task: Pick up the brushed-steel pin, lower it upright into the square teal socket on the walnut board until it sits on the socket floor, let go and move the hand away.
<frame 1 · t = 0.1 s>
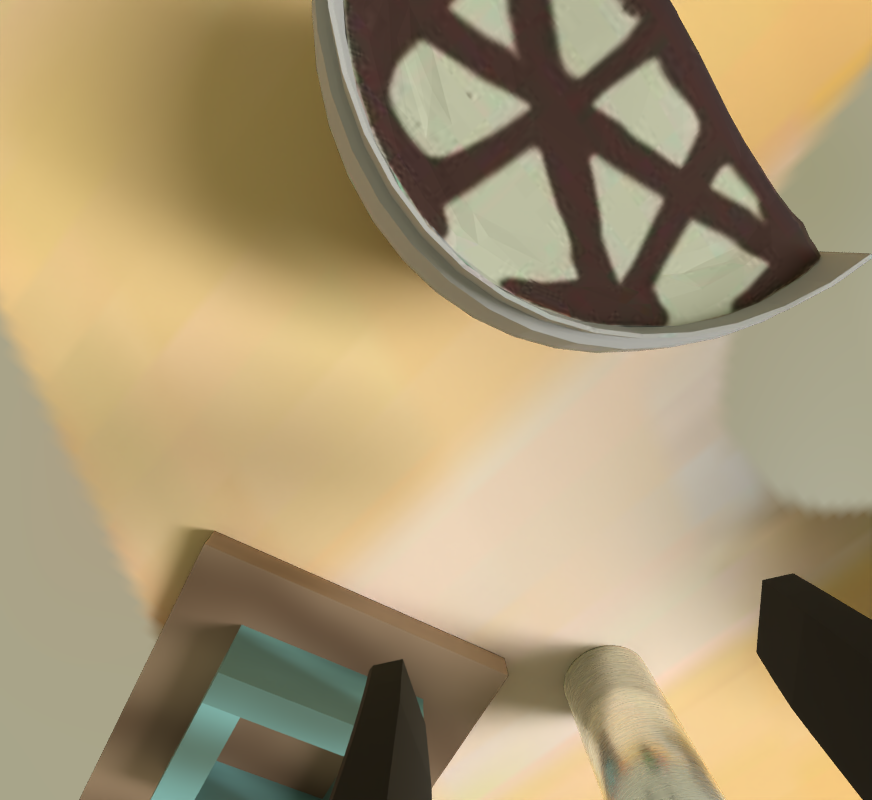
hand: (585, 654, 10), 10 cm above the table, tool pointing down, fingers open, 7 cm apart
food container: (468, 208, 18), on the table
steel pin: (605, 681, 23), on the table
socket board: (271, 761, 23), on the table
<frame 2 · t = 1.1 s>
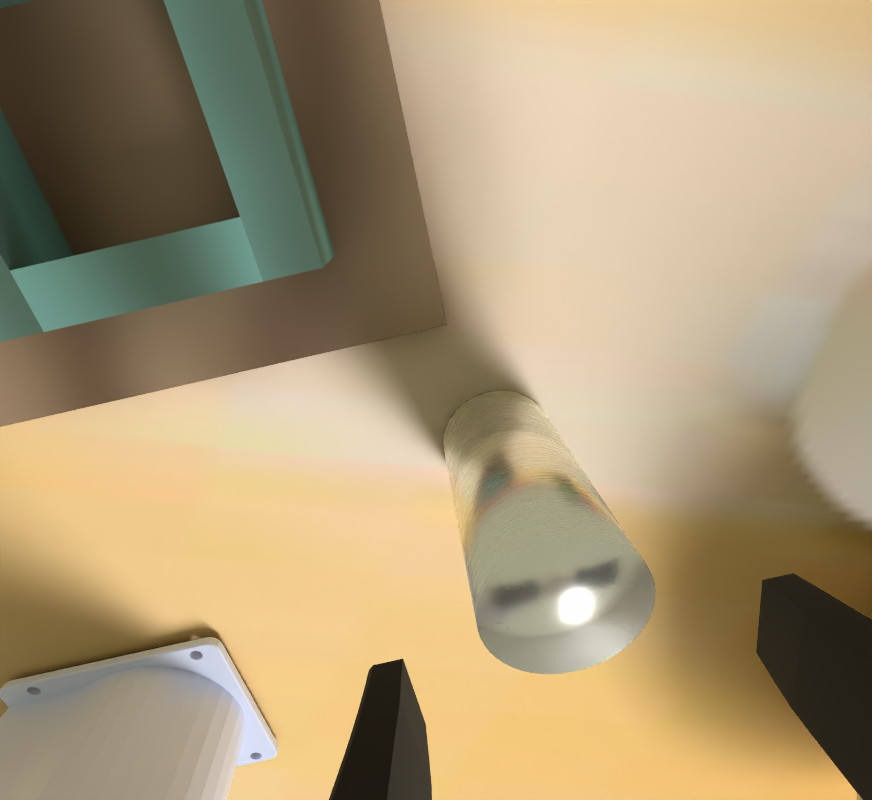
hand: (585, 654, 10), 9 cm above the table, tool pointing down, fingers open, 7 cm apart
steel pin: (496, 440, 18), on the table
socket board: (37, 153, 13), on the table
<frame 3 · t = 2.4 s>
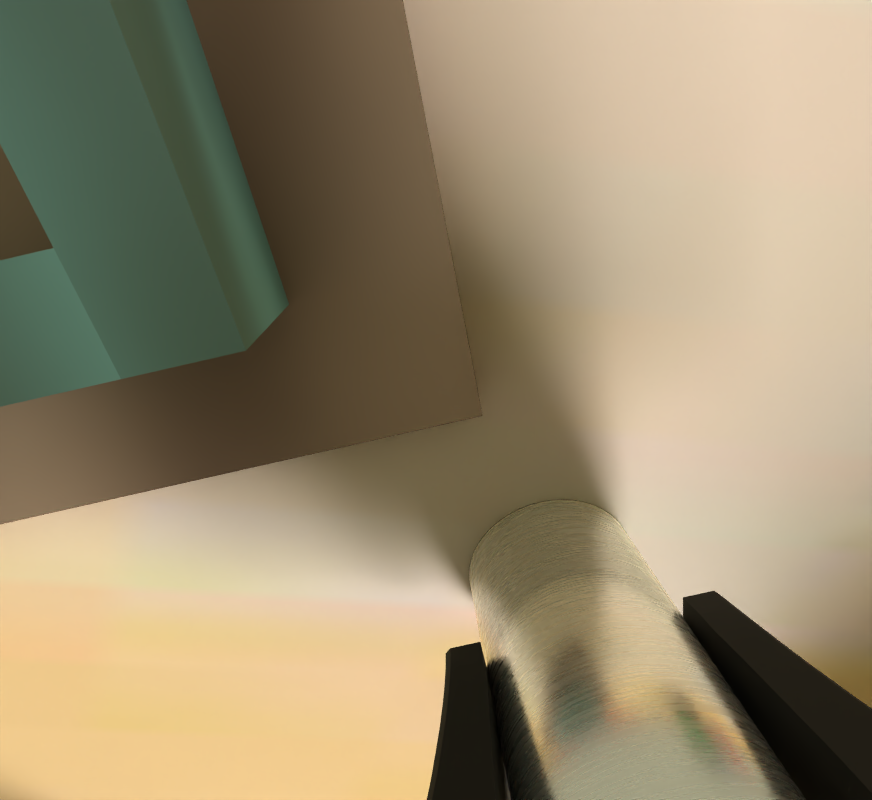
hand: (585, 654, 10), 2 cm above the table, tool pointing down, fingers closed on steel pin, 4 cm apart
steel pin: (550, 568, 12), on the table, touching gripper
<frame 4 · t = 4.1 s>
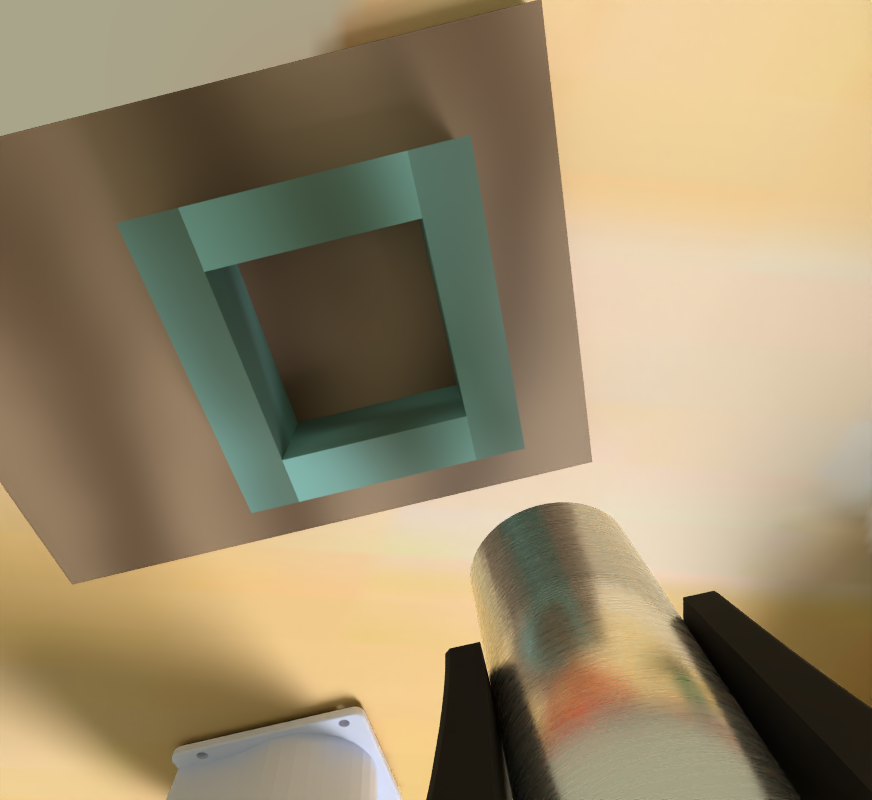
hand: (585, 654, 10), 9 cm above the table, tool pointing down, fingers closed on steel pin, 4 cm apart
steel pin: (550, 569, 12), point 7 cm above the table, touching gripper
socket board: (268, 339, 16), on the table
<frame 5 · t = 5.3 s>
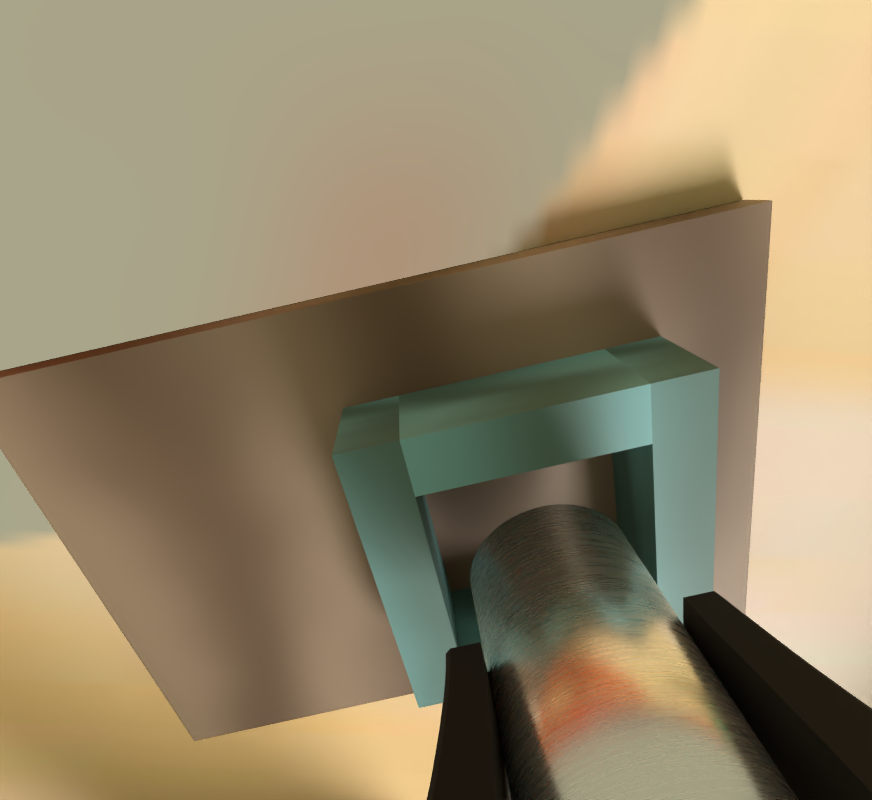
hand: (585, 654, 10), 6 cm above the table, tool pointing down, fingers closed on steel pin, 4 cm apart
steel pin: (550, 571, 12), point 4 cm above the table, touching gripper
socket board: (422, 505, 15), on the table
when the fingers open (5 cm above the table, at t = 6.1 s): steel pin drops 1 cm, resting on socket board.
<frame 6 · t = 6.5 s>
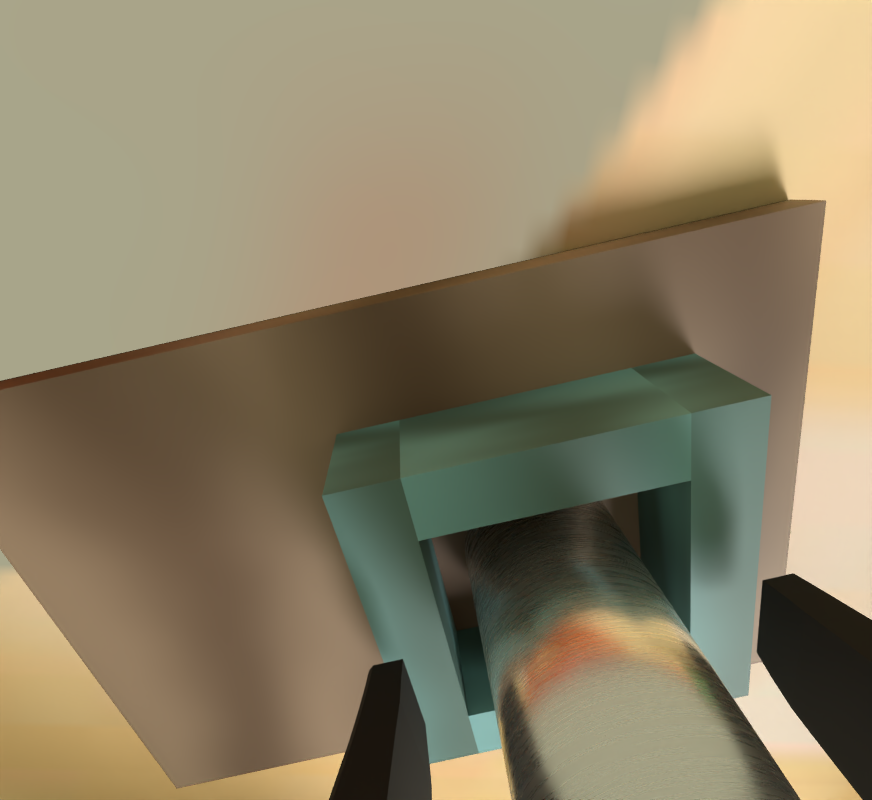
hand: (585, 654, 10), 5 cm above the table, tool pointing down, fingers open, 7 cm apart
steel pin: (538, 541, 13), point 1 cm above the table, touching socket board
socket board: (425, 536, 14), on the table
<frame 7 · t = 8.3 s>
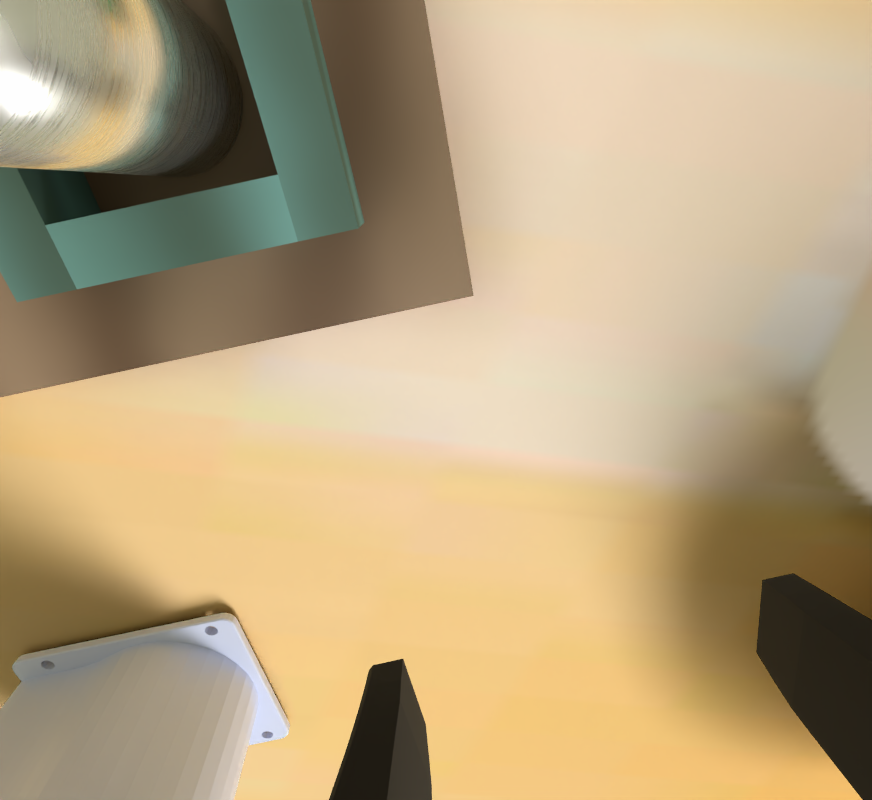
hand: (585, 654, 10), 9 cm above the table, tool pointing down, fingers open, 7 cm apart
steel pin: (162, 91, 12), point 1 cm above the table, touching socket board
socket board: (68, 114, 13), on the table
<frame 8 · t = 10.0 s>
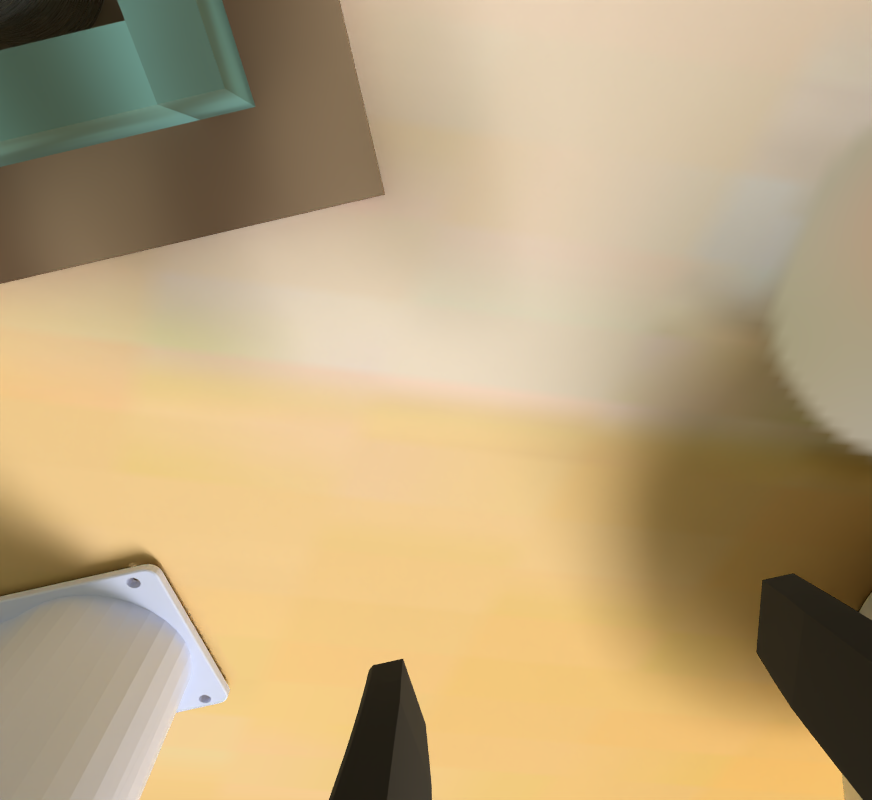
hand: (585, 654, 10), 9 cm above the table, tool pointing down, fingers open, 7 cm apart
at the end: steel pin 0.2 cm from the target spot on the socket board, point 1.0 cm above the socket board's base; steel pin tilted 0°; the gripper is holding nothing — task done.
